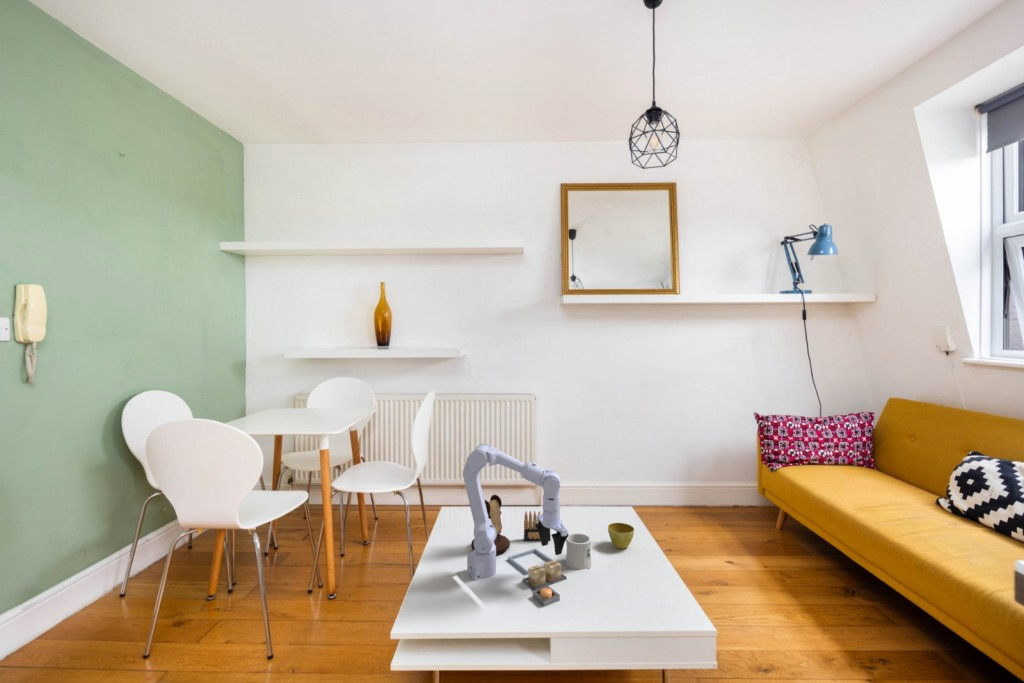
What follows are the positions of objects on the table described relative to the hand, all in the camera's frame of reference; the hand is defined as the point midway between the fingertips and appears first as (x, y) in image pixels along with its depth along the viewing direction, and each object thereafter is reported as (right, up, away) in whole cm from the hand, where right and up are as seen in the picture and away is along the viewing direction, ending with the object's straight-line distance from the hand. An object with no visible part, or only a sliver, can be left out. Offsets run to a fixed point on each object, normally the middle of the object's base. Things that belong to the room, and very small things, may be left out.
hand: (551, 549), depth 154 cm
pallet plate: (-2, -10, -2) cm, 11 cm away
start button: (-3, -10, -12) cm, 16 cm away
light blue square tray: (-6, -10, +10) cm, 16 cm away
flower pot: (+29, -10, +25) cm, 40 cm away
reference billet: (-5, -9, -3) cm, 11 cm away
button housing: (-3, -11, -13) cm, 17 cm away
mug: (+11, -10, +11) cm, 19 cm away
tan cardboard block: (0, -9, 0) cm, 9 cm away
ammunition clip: (-3, -10, +30) cm, 32 cm away
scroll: (-21, -10, +23) cm, 33 cm away
